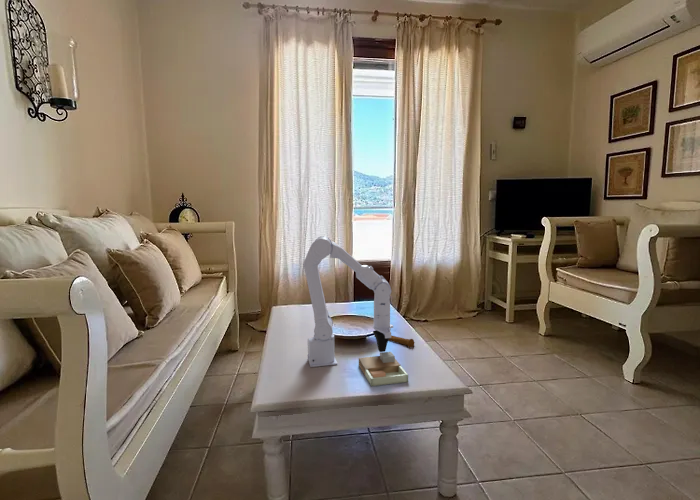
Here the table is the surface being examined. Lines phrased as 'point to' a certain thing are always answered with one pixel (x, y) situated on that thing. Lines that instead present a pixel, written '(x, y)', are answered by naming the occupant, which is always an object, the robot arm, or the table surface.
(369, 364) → the walnut board
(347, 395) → the table surface
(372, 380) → the tray
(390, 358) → the slate tile
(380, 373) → the terracotta tile
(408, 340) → the primitive tool
